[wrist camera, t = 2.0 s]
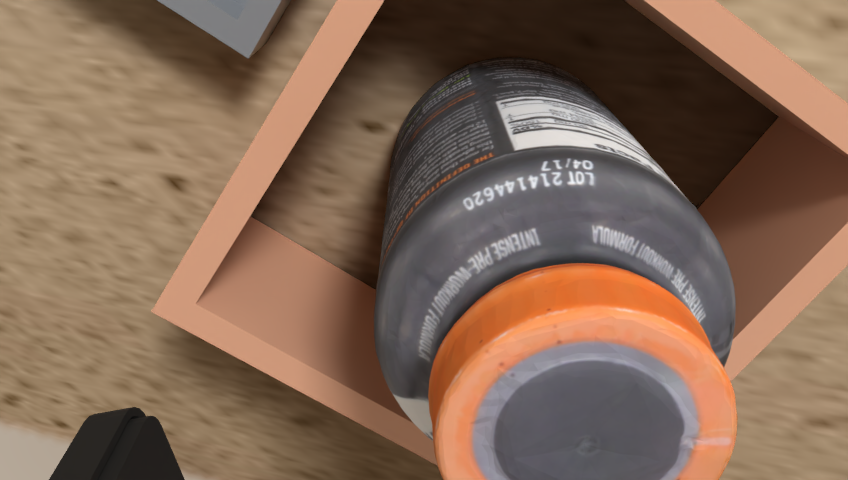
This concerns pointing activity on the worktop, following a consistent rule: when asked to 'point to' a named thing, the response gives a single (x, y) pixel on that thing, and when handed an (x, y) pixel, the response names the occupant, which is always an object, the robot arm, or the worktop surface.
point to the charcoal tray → (233, 20)
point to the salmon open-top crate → (355, 301)
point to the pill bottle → (549, 289)
